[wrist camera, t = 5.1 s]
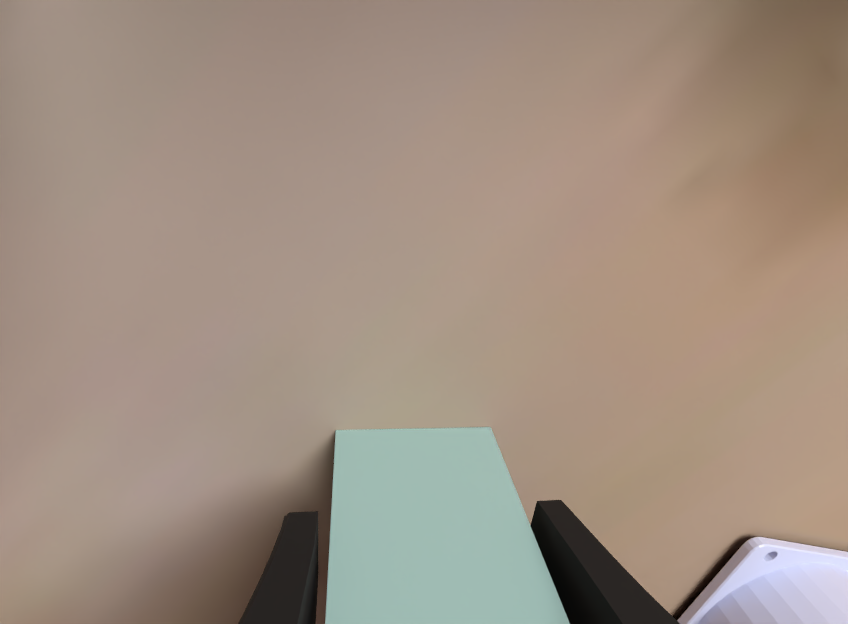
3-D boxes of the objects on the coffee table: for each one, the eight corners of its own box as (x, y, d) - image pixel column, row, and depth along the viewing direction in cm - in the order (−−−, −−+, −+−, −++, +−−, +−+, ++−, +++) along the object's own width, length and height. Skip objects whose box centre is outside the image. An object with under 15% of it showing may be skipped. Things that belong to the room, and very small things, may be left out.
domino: (335, 429, 13) (314, 827, 6) (490, 427, 13) (632, 779, 7) (335, 473, 13) (315, 876, 6) (482, 469, 14) (604, 826, 7)
